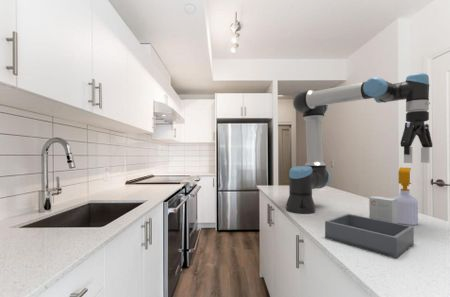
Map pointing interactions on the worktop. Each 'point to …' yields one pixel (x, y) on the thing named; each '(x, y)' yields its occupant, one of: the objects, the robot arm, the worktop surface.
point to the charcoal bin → (371, 234)
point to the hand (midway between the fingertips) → (416, 162)
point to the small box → (383, 208)
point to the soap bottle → (406, 200)
